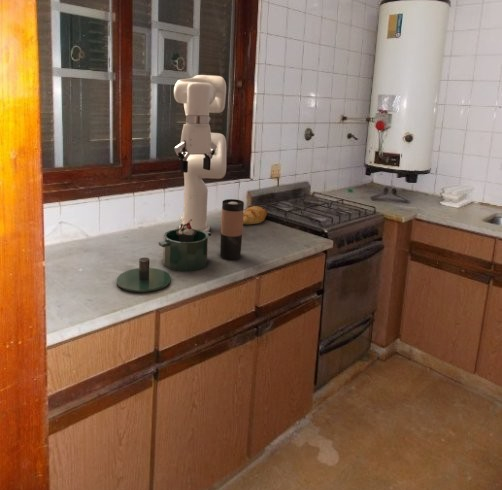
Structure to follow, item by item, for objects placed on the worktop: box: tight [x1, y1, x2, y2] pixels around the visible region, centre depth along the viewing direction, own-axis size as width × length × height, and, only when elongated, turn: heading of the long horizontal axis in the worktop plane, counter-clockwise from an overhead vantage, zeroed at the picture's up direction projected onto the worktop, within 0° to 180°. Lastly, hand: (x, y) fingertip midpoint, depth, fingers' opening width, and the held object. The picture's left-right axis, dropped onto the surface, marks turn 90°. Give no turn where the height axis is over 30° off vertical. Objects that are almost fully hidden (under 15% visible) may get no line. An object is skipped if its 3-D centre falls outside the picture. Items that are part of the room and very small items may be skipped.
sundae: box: [176, 219, 197, 242], centre depth 147 cm, size 7×7×15 cm
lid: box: [116, 257, 172, 293], centre depth 130 cm, size 16×16×7 cm
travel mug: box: [219, 198, 245, 261], centre depth 154 cm, size 8×8×20 cm
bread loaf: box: [243, 205, 268, 225], centre depth 200 cm, size 21×10×8 cm, turn 150°
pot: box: [158, 228, 212, 272], centre depth 147 cm, size 15×20×10 cm
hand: (195, 170), depth 149 cm, fingers open, 9 cm apart
